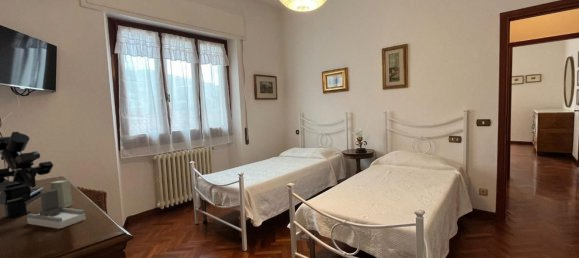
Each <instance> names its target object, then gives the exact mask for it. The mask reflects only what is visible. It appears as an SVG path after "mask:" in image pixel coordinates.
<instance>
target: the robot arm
mask: <svg viewBox="0 0 579 258" xmlns="http://www.w3.org/2000/svg"><path fill="white" fill-rule="evenodd" d="M29 141H30V136H28V135H27V134H25V133H20V132H19V131H13V132H11V134H10V136H3V137H2V136H1V137H0V155H1V156H0V159H1V161H2V160H3V161H5V162H6V164H7V167H5V168H0V205H1V206H4V210H5V211H4V212H5V215H4V216H1V218H2V219H16V218H19V217H21V216H24V215H27V214H31V211H30V210H29V211H28V210H27V204H26V200H30V199H31V192H32V191H31V189H32V188H35V187H36V176H37V175H38V176H39V175H40V176H44V175H48V174H50V173H51V172H52V169H53V167H54V164H53V162H52V161H42V162H40V163H39V164H38V165H37V166H34V164H35V163H34V161H36V160H39V159H40V158H41V154H40V152H39V151H38V150H33V151H32V152H23V151H25V150H26V147H27V145H28V143H29ZM11 177H12V180H9V179H7V178H11Z"/></svg>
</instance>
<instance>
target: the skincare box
mask: <svg viewBox="0 0 579 258" xmlns="http://www.w3.org/2000/svg"><path fill="white" fill-rule="evenodd" d="M70 182H71V181H70V179H67V180H66V179H64V180H63V179H61V180H56V181H53V182H49V187H50V190H57V193H58V202H59V207H62V208H63V207H64V208H70V207H72V206H73V205H74V204H73V203H74V202H73V197H72V190H71V183H70Z"/></svg>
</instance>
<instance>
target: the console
mask: <svg viewBox="0 0 579 258" xmlns="http://www.w3.org/2000/svg"><path fill="white" fill-rule="evenodd" d="M26 219H27V224H29V225H32V226H33V225H35V226H41V227H47V228H53V229H58V230H60V228H61V229H63V228H66V227H68V226H71V225H74V224H77V223H79V222H82V221H85V220H86V210H84V209H77V208H73V207H72V208H70V207H67V208H64V207H63V208H62V212H60V213H57V214H54V215H50V216H44V215H41V214H40V213H38V214H35V213H27V214H26Z"/></svg>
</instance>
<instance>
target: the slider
mask: <svg viewBox="0 0 579 258" xmlns="http://www.w3.org/2000/svg"><path fill="white" fill-rule="evenodd" d="M39 193H40V201H41V209H40V210H39V214H41V215H44V216H50V215H54V214H57V213H60V212H62V207H59V202H58V193H57V190H51V189H50V190H46V191H42V192H39Z"/></svg>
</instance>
